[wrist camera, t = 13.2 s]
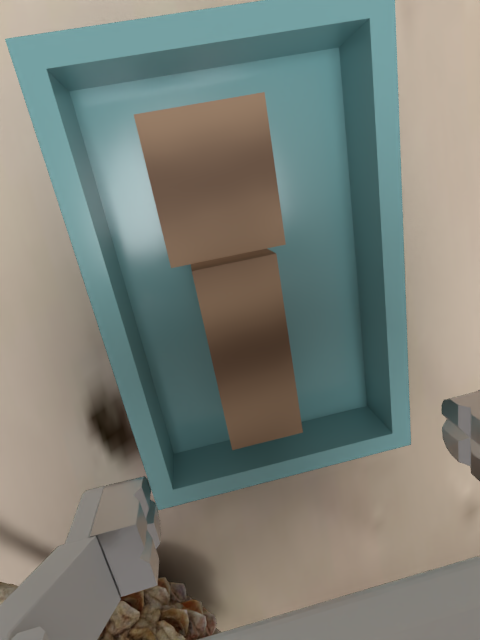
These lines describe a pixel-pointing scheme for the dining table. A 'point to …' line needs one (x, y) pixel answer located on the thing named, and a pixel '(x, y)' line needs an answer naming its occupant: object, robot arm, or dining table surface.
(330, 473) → the dining table surface
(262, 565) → the dining table surface
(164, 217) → the stepped brown block
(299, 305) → the serving bin
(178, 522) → the dining table surface
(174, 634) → the pine cone
